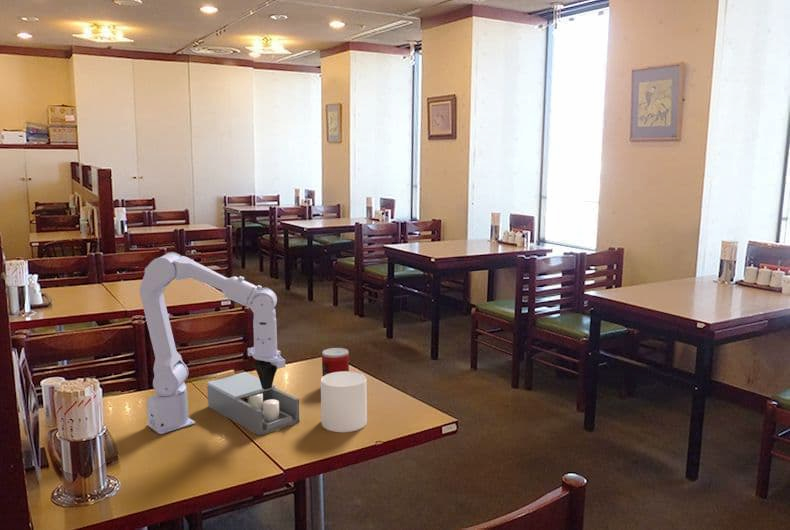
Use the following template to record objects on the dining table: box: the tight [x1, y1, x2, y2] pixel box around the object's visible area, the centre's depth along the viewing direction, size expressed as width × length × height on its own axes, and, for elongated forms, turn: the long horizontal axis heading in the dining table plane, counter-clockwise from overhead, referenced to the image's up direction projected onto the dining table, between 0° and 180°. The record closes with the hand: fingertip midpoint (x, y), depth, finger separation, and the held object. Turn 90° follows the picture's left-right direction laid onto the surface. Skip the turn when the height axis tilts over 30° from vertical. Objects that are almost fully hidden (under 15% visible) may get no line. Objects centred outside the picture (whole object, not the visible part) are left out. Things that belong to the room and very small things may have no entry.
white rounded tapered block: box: [246, 392, 263, 411], centre depth 168 cm, size 4×4×5 cm
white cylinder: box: [320, 370, 368, 433], centre depth 163 cm, size 12×12×12 cm
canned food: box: [321, 347, 350, 377], centre depth 189 cm, size 8×8×11 cm
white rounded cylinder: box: [263, 399, 279, 423], centre depth 162 cm, size 4×4×5 cm
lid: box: [206, 369, 276, 400], centre depth 172 cm, size 12×16×2 cm
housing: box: [206, 384, 300, 436], centre depth 169 cm, size 12×26×6 cm, turn 44°
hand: (266, 388), depth 162 cm, fingers closed
